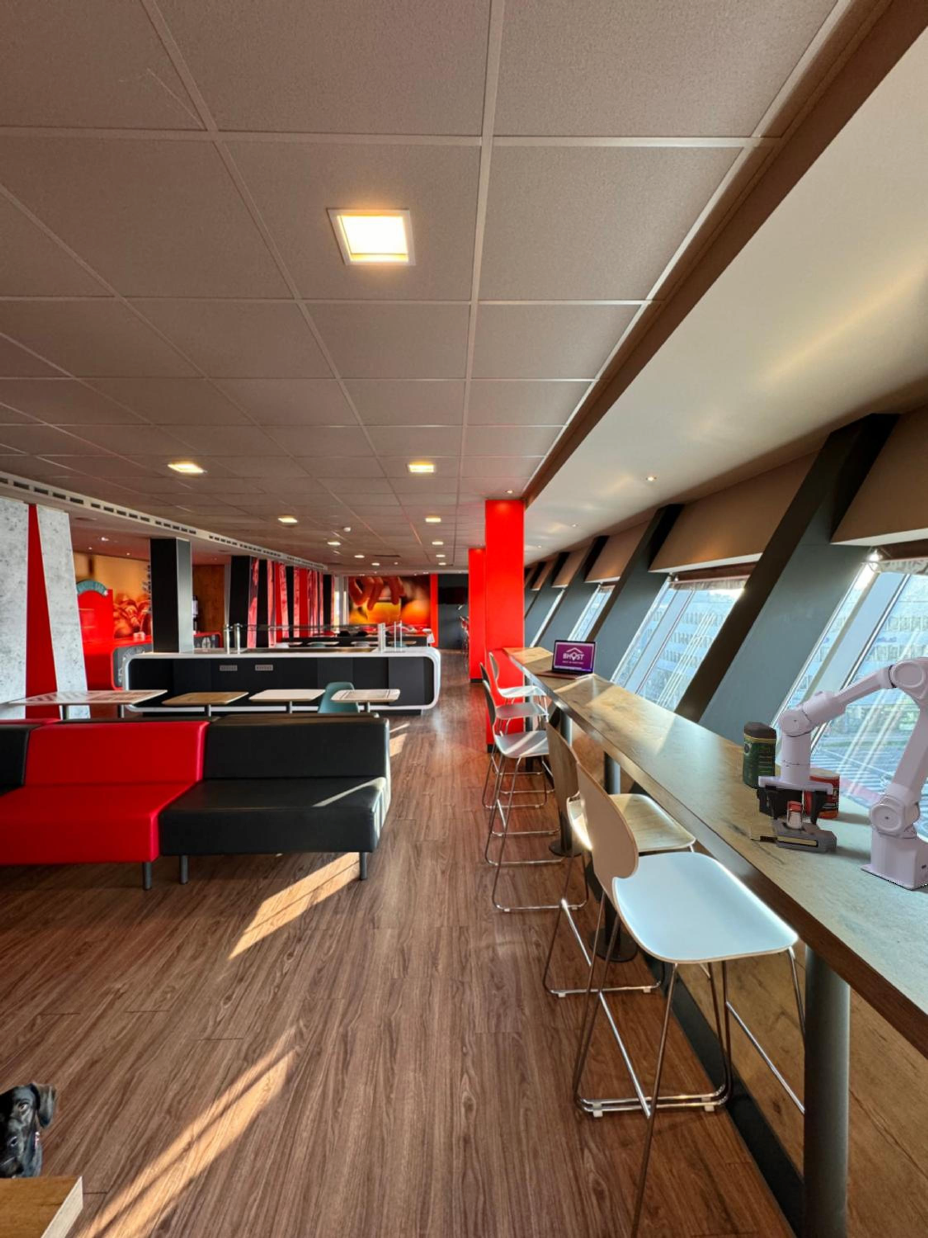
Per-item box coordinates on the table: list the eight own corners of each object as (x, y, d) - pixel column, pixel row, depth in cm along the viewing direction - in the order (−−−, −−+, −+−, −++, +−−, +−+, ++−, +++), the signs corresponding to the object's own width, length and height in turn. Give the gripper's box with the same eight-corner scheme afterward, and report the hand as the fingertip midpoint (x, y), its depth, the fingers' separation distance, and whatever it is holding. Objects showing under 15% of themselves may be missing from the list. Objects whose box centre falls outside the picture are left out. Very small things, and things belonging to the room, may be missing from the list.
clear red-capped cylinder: (804, 844, 127) (806, 805, 127) (794, 846, 126) (796, 806, 126) (792, 839, 130) (794, 800, 130) (782, 840, 129) (784, 802, 129)
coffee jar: (779, 790, 164) (781, 727, 164) (751, 789, 165) (753, 726, 164) (765, 780, 174) (767, 720, 173) (738, 779, 175) (740, 719, 174)
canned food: (822, 821, 141) (823, 777, 141) (795, 809, 149) (797, 768, 149) (846, 818, 143) (847, 775, 143) (818, 807, 151) (820, 766, 151)
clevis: (828, 840, 130) (829, 825, 129) (839, 855, 122) (839, 839, 122) (746, 830, 135) (747, 815, 135) (751, 843, 127) (752, 827, 127)
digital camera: (783, 805, 152) (784, 780, 152) (802, 812, 147) (802, 786, 147) (754, 810, 148) (755, 784, 148) (772, 817, 143) (773, 790, 143)
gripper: (827, 760, 129) (825, 819, 130) (757, 754, 134) (755, 810, 134) (836, 769, 123) (834, 830, 123) (762, 761, 127) (760, 821, 128)
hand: (793, 821), depth 128 cm, fingers open, 7 cm apart
